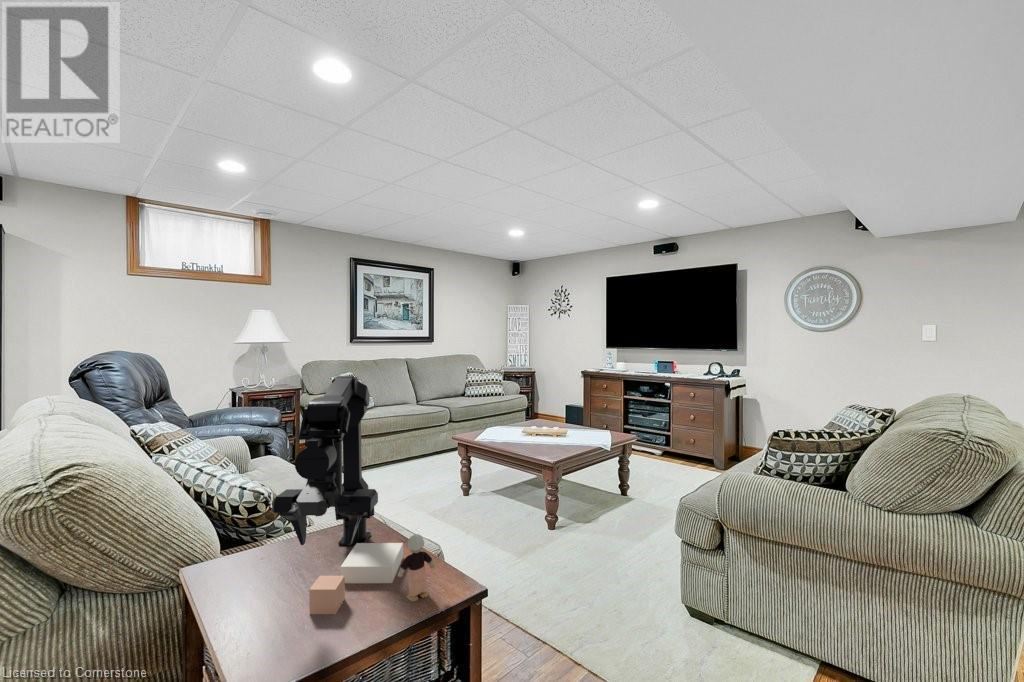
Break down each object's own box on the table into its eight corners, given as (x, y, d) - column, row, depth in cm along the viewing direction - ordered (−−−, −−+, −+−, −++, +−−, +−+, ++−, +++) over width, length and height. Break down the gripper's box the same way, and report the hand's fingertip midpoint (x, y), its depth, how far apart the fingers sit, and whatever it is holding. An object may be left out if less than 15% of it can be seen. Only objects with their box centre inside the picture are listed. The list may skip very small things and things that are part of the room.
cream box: (356, 559, 112) (356, 543, 112) (403, 559, 112) (403, 542, 112) (340, 585, 101) (340, 566, 101) (392, 584, 101) (392, 566, 101)
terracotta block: (319, 599, 95) (319, 575, 95) (344, 599, 95) (344, 575, 95) (309, 615, 90) (309, 589, 90) (335, 615, 90) (335, 589, 90)
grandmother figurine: (426, 585, 100) (426, 526, 99) (437, 593, 97) (436, 532, 97) (394, 600, 94) (393, 538, 94) (404, 608, 92) (404, 544, 91)
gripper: (256, 476, 84) (256, 564, 84) (361, 476, 84) (361, 563, 84) (285, 460, 95) (286, 537, 95) (378, 460, 95) (378, 537, 95)
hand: (326, 544), depth 92 cm, fingers open, 9 cm apart
